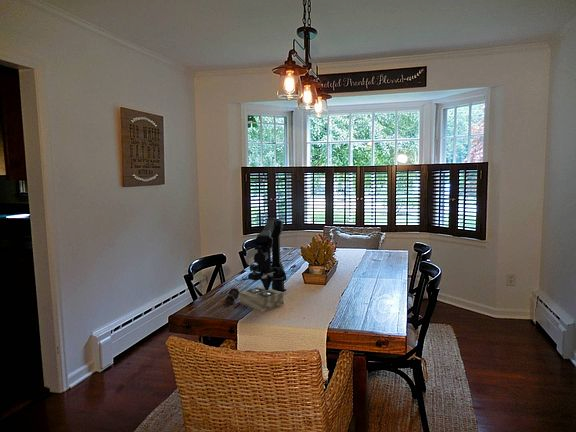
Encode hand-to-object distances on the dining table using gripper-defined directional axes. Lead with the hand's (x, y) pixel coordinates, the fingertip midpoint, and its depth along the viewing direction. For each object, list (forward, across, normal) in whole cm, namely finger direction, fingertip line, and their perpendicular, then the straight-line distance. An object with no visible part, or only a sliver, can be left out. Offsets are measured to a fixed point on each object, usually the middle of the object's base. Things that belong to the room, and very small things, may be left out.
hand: (266, 290), depth 209 cm
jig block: (+8, 0, -5) cm, 9 cm away
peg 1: (+8, 0, -9) cm, 12 cm away
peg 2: (+8, 0, 0) cm, 8 cm away
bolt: (+8, +7, -21) cm, 23 cm away
